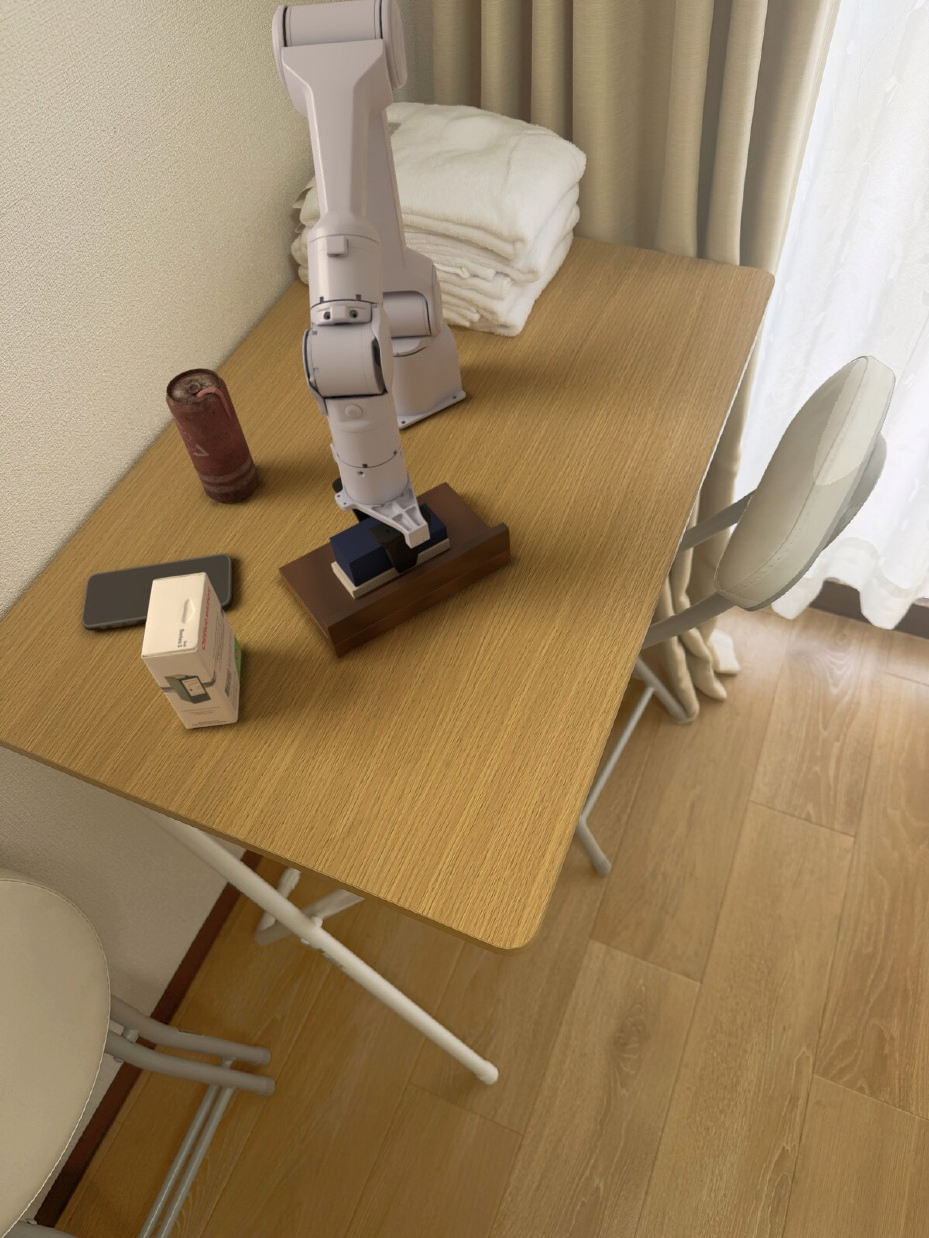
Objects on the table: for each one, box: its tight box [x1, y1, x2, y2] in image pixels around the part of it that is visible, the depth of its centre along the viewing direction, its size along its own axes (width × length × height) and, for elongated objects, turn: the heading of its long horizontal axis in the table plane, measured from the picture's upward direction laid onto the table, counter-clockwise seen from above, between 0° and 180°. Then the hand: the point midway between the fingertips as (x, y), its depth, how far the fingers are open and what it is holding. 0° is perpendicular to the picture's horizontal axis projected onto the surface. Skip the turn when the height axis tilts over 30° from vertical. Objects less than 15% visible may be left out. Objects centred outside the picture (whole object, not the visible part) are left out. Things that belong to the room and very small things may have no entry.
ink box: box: [140, 573, 243, 730], centre depth 81 cm, size 9×5×12 cm, turn 5°
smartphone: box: [81, 553, 234, 632], centre depth 93 cm, size 7×1×15 cm
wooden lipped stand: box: [277, 481, 512, 659], centre depth 90 cm, size 20×12×5 cm, turn 123°
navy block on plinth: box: [328, 503, 450, 599], centre depth 89 cm, size 11×4×5 cm, turn 123°
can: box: [165, 367, 259, 504], centre depth 97 cm, size 6×6×14 cm
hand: (391, 549), depth 90 cm, fingers open, 5 cm apart
